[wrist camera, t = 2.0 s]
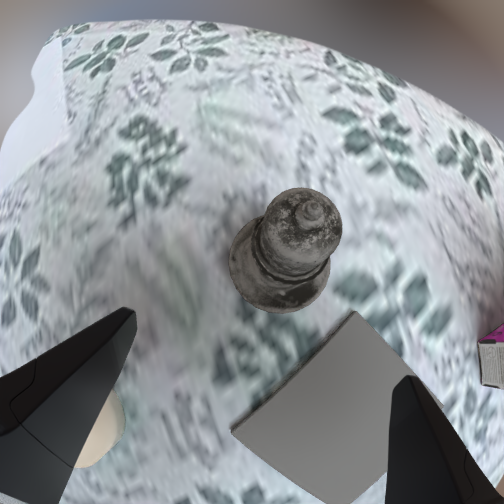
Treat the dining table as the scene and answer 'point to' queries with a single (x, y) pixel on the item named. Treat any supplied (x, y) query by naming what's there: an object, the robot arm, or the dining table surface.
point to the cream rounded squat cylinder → (103, 432)
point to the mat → (332, 416)
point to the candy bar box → (492, 358)
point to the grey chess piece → (286, 251)
